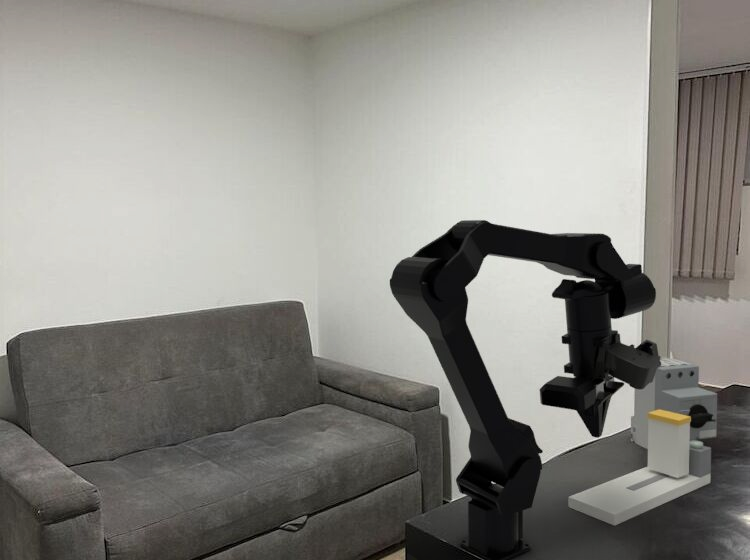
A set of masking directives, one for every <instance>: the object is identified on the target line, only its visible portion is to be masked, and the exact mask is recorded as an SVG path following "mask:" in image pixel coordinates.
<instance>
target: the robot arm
mask: <svg viewBox="0 0 750 560" xmlns="http://www.w3.org/2000/svg"><path fill="white" fill-rule="evenodd" d="M488 256H491V257H498V258H499V257H500V258H505V259H512V260H519V261H527V262H533V263H537V264H539V265H542V266H544V267H545V268H546V269H548V270H550V271H553V272H554V273H558V274H559V275H564V276H570V277H572V276H573V277H576V278H577V279H586V280H581V281H580V280H579V281H576V280H575V279H567V278H565V279H564V278H563V279H561V281H560V283H559V285H558V286H557V287H556V288H555V289H554V290H553V291H552V293H551V296H552V298H554V299H560V300H564V305H565V318H566V319H565V320H566V331H567V333H565V334H562V336H561V344H563V345H568V355H569V356H568V359H569V362H568V363H566V364H564V365H563V372H564V373H565V374H572V375H573V377H571V376H570V377H569V376H561V375H557V376H555V377H554V378H552V379H551V380H548V381H547V382H545V384H543V385H542V386H541V387H540V388H539V399H540V404H541V405H542V406H546V407H547V406H548V407H554V408H560V409H564V410H565V409H567V410H572V411H576V412H577V414H578V416H579V417H580V419H581V420H582V423H583V424H584V425H585V427H586V429H587V431H588V432H589V434H590V436H592V437H593V438H597V439H599V438H600V437H602V435H603V432H604V427H605V423H606V420H607V415H608V410H609V406H610V404H611V403H610V402H611V399H612V397H613V395H615V394H616V393H617V392H618V391H619V390H620V389H621V388H623V387H624V386H625V384H628V385H629V387H630V388H632V389H634V390H635V389H640V390H641V389H644V388H645V387H646V386H647V385H648V384H649V383H652V382H653V379H654V376H655V373H656V370H657V368H658V367H660V366H661V362H660V358H662V357H661V356H660V355H659V351H658V345H657V343H655V342H654V341H652V340H649V339H645V340H644V341H642V342H641V343H639V345H637V346H636V347H635V345H634V344H632V343H631V344H630V345H628V344H624V343H622V342H621V334H620V333H619V331H618V330H617V329H616V330H613V329H612V320H614V319H615V320H617V319H621V318H624V317H628V316H630V315H634V314H635V315H636V314H637V313H640V312H644V311H647V310H649V309H650V308H652V307H653V305H654V304H655V301H656V298H657V292H656V291H657V290H656V288H655V286H654V284H653V282H652V280H651V278H650V277H649V276H648V275H647V274H645V273H643V270H642V265H641V264H640V263H628V264H626V263H625V261H624V260H623V259H622V257H621V255H620V254H619V253H618V251H617V250H616V248H615V246H614V245H613V243H612V238H611V237H610V236H609V235H607V234H604V233H591V232H590V233H589V232H587V233H584V232H579V233H578V232H574V233H573V232H572V233H571V232H566V233H565V232H563V233H546V232H540V231H535V230H530V229H524V228H518V227H514V226H507V225H501V224H496V223H492V222H489V221H488V220H486V219H485V220H484V219H482V220H481V219H478V220H477V219H475V220H473V219H471V220H469V219H468V220H467V219H466V220H460V221H458V222H457V223H455V224H454V225H452V227H450V228H449V229H448V230H447V231H446V232H444V234H442V235H440V236H439V237H437V238H436V239H433V240H432V241H431V242H429V243H427V244H426V245H424V246H423V247H420V248H419V250H417V251H416V252H415V253H414V254H412V256H408V257H406V258H404V259H401V260H400V261H399V262H398V263H397V264H396V265H395V267H394V269H393V271H392V274H391V278H390V279H389V287H390V290H391V293H392V296H393V298H394V299H395V300H396V302H397V303H398V304H399V305H400V307H401V309H402V310H403V312H404V314H406V315H407V317H408V318H409V319H410V320H411V321H412V322H414V323H415V325H417V326H418V327H419V328H420V329H421V330H422V331H423V332H424V333H425V334H426V336H427V337H428V340H429V342H430V344H431V346H432V348H433V351H434V353H435V355H436V357H437V359H438V361H439V363H440V366H441V368H442V371H443V372H444V374H445V377H446V379H447V381H448V383H449V386H450V388H451V390H452V392H453V395H454V397H455V399H456V401H457V403H458V404H459V407H460V409H461V412H462V413H463V414H462V415H463V416H464V418H465V420H466V422H467V425H468V426H469V429H470V432H469V439H468V451H469V453H470V458H469V459H468V460H467V462H466V463H465V465H464V467H463V468H462V469H461V471H460V472H459V474H458V475H457V477H455V481H456V482H455V483H456V485H457V489H458V492H459V493H460V494H462V495H465V496H467V497H469V498H471V500H468V502H467V520H468V521H467V524H468V525H467V529H468V530H467V531H468V532H467V533H468V534H467V536H468V537H466V538H464V539H461V540H460V541H459V546H461V547H462V548H464V549H465V550H468V551H469V552H471V553H473V554H475V555H477V556H479V558H482V559H484V560H509V559H512V558H514V557H516V556H519V555H521V554H523V553H525V552H528V551H530V550H531V548H532V545H531V544H530V543H529V542H526V541H524V540H523V538H524V537H523V536H524V533H523V532H524V531H523V530H524V528H523V527H524V525H523V524H524V522H523V520H524V518H523V517H524V513H523V512H524V511H525V510H528V509H531V508H532V506H533V504H534V501H535V496H536V491H537V487H538V484H539V480H540V477H541V471H542V469H543V461H542V457H541V455H540V454H543V452H544V451H543V449H542V448H541V447H540V446H539V445H538V443H537V440H536V437H535V433H534V431H533V429H532V426H531V425H529V424H526V423H524V422H521V421H517V420H515V419H512V418H509V417H508V415H507V412H506V411H505V408H504V406H503V403H502V401H501V398H500V397H499V395H498V392H497V390H496V387H495V385H494V383H493V380H492V378H491V376H490V373H489V371H488V369H487V367H486V365H485V362H484V360H483V358H482V356H481V353H480V351H479V349H478V347H477V344H476V341H475V339H474V337H473V334H472V332H471V330H470V327H469V326H468V322H467V313H468V305H469V297H468V294H467V289H466V287H467V286H468V285H470V283H471V282H472V281H474V279H476V277H477V276H478V274H479V273H480V269H481V268H482V267H481V266H482V265H483V262H484V260H485V258H486V257H488ZM593 280H594V281H593ZM615 379H618V380H619V381H615ZM492 482H493V483H492Z"/></svg>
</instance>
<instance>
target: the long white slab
mask: <svg viewBox="0 0 750 560" xmlns="http://www.w3.org/2000/svg"><path fill="white" fill-rule="evenodd" d="M711 466H712V447H711V446H705V445H704V442H703V441H700V440H697V441H696V440H692V441H690V443H689V474H686V475H684V476H681V477H679V478H676V477H673V476H670V475H666V474H663V473H660V472H657V471H654V470H651V469H648V465H647V466H645V467H643V468H640V469H637V470H635V471H632V472H629V473H627V474H625V475H622V476H619V477H616V478H614V479H611V480H609V481H606V482H603V483H601V484H599V485H596V486H593V487H590V488H587V489H585V490H582V491H580V492H578V493H575V494H572V495H570V496H568V502H567V503H568V508H570V509H573V510H575V511H578V512H580V513H582V514H585V515H587V516H590V517H592V518H595V519H597V520H599V521H603V522H605V523H607V524H609V525H612V526H617V525H619V524H622V523H623V522H626V521H628V520H630V519H633V518H635V517H637V516H639V515H641V514H644V513H646V512H648V511H650V510H653V509H656V508H657V507H659V506H662V505H663V504H666V503H668V502H671V501H673V500H675V499H677V498H680V497H681V496H684V495H686V494H688V493H690V492H693V491H696V490H698V489H699V488H702V487H704V486H706V485H709V484H711V478H712V477H711V473H712V472H711V471H712V470H711V469H712V467H711Z"/></svg>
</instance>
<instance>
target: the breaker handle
mask: <svg viewBox="0 0 750 560" xmlns="http://www.w3.org/2000/svg"><path fill="white" fill-rule="evenodd" d="M647 418H648V449H647V466H648V469H651V470H654V471H657V472H660V473H663V474H666V475H670V476H673V477H676V478H679V477H681V476H684V475H686V474H689V443H690V422H691V417H690V416H686V415H682V414H678V413H673V412H669V411H665V410H660V409H659V410H655V411H652V412H649V413H647Z"/></svg>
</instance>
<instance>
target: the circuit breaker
mask: <svg viewBox="0 0 750 560" xmlns="http://www.w3.org/2000/svg"><path fill="white" fill-rule="evenodd" d="M660 362H661V366H660V367H658V368H657V370H656V373H655V376H654V379H653V382H652V383H649V384H648V385H647V386H646V387H645V388H644V389H641V390H640V389H635V388H634V394H633V395H634V396H633V397H634V398H633V399H634V400H633V401H634V403H633V404H634V405H633V407H634V408H633V415H631V416H630V433H631V434H632V438H630V442H633V443H635V444H636V445H638V446H640V447H642V448H644V449H646V450H648V418H647V413H649V412H652V411H655V410H659V409H660V410H665V411H669V412H673V413H678V414H682V415H686V416H690V417H691V422H690V441H692V440H696V441H698V440H704V439H712V438H713V439H714V438H717V425H718V424H717V423H718V421H717V419H718V393H716V392H713V391H710V390H707V389H706V388H705V389H704V388H702V387H699V383H700V382H699V380H700V379H699V378H700V376H699V375H700V366H699V365H697V364H693V363H690V362H685V361H682V360H678V359H675V358H670V357H661V358H660ZM634 429H635V430H634Z"/></svg>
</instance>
